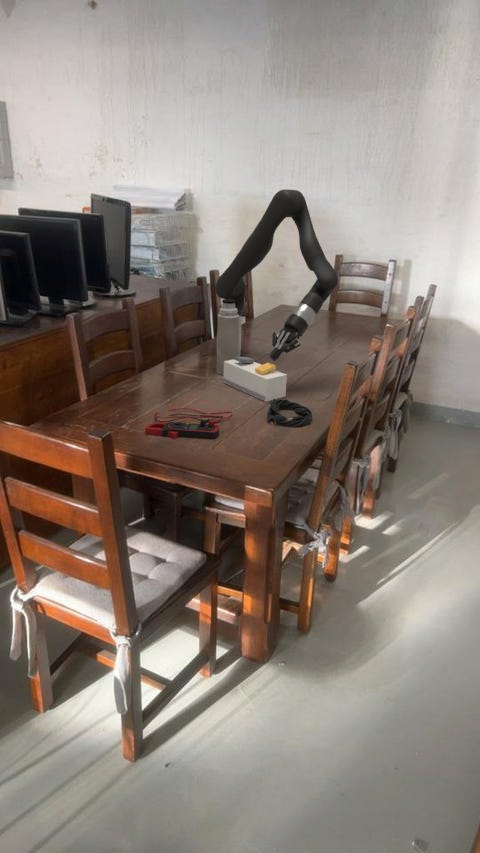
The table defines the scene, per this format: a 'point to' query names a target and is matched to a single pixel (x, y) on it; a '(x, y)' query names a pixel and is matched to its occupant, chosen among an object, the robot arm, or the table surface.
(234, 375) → the switch box
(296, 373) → the table surface
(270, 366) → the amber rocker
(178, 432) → the digital clamp meter
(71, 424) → the table surface
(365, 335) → the table surface
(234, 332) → the thermos bottle
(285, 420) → the cable
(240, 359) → the flat grey slab box
